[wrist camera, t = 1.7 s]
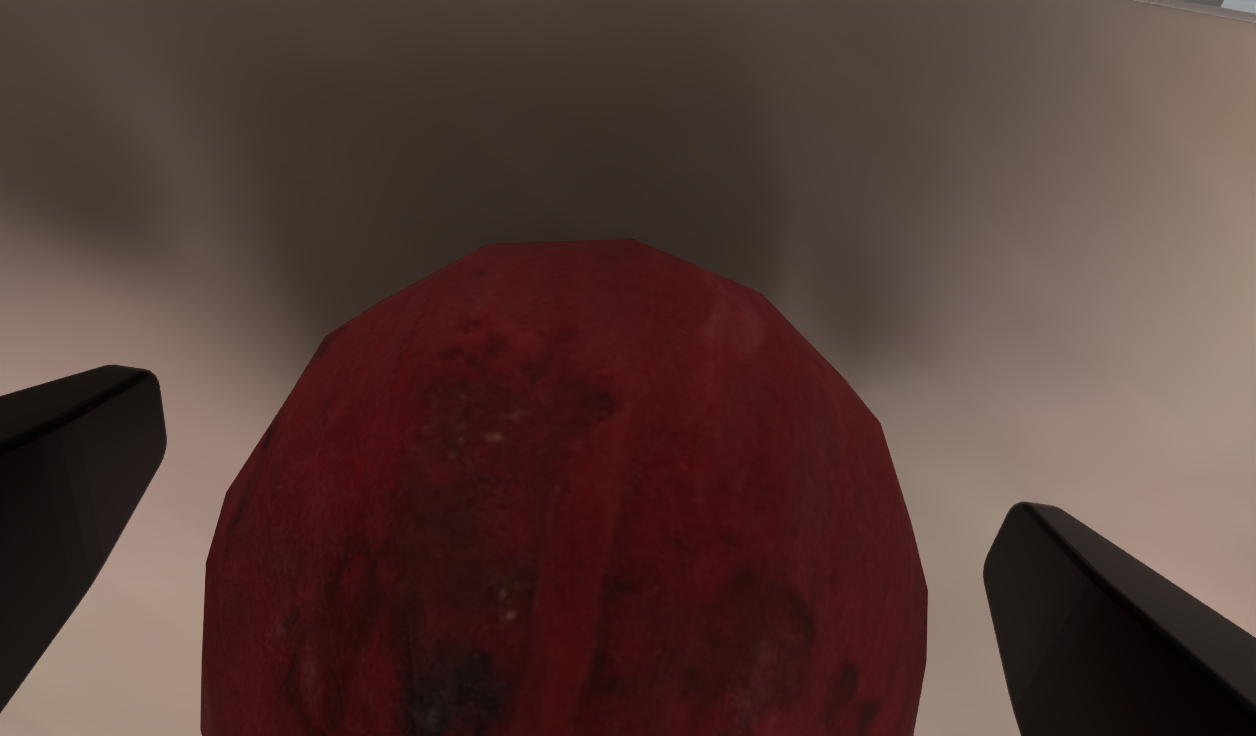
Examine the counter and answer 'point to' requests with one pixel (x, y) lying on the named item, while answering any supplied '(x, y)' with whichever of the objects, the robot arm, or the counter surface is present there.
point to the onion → (566, 520)
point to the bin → (1214, 7)
